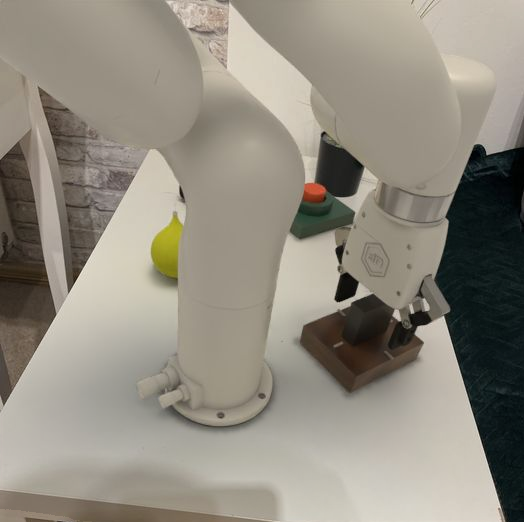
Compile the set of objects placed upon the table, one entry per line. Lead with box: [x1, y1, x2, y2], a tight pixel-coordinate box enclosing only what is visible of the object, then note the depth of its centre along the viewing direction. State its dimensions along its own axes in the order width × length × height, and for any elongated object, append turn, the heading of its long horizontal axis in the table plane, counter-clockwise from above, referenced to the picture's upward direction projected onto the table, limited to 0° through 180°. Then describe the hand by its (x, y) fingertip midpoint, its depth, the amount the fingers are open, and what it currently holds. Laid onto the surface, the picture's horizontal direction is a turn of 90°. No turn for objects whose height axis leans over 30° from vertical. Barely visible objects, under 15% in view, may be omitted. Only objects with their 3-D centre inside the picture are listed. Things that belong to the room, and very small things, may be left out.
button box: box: [289, 190, 357, 240], centre depth 89 cm, size 12×10×4 cm
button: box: [302, 182, 327, 203], centre depth 88 cm, size 4×4×2 cm
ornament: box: [150, 203, 184, 279], centre depth 72 cm, size 7×7×10 cm
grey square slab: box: [341, 293, 396, 346], centre depth 64 cm, size 6×2×6 cm, turn 125°
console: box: [299, 305, 425, 394], centre depth 67 cm, size 12×10×3 cm
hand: (370, 320), depth 65 cm, fingers open, 9 cm apart
